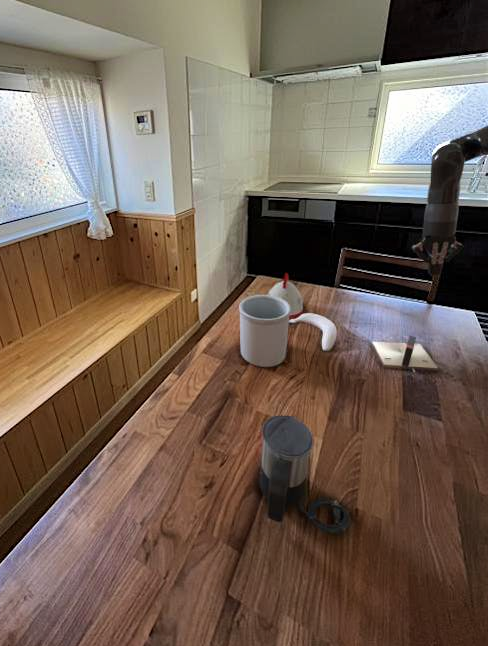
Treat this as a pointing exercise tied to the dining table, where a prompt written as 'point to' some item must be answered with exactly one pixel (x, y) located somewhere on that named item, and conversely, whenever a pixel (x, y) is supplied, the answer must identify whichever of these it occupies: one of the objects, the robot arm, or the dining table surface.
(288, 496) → the milk frother
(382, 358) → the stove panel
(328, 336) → the banana
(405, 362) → the dark grey rectangular block
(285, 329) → the utensil holder
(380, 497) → the dining table surface
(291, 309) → the kitchen timer
